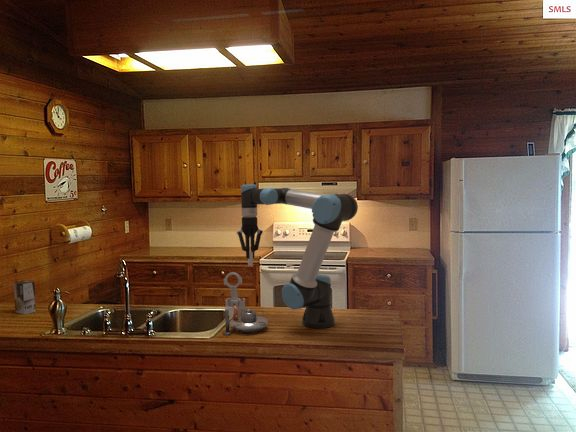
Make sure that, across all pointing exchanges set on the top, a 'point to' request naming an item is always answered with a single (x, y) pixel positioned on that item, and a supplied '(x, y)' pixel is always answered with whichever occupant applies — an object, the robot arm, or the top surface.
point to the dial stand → (228, 312)
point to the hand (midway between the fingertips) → (250, 265)
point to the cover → (248, 316)
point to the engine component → (234, 294)
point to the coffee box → (24, 297)
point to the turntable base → (249, 331)
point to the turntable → (240, 325)
